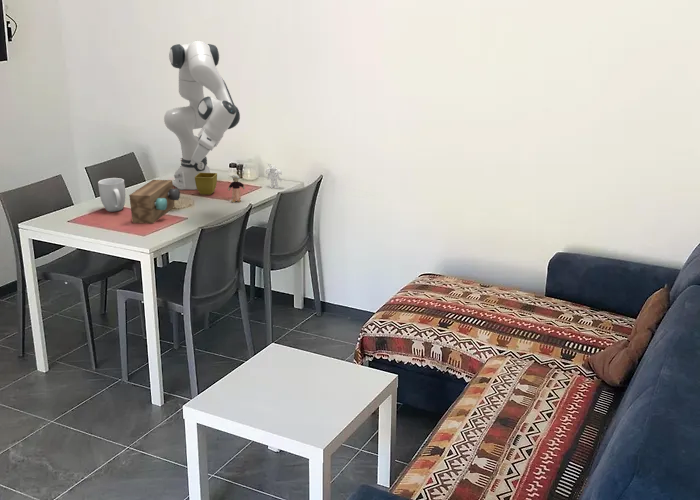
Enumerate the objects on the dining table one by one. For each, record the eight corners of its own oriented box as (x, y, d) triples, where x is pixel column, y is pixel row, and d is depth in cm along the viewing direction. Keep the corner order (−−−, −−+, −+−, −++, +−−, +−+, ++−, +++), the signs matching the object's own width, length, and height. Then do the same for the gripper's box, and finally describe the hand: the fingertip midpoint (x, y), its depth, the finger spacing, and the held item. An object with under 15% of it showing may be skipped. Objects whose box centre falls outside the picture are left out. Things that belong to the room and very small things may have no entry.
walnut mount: (174, 206, 340) (172, 180, 335) (152, 223, 316) (150, 195, 312) (155, 205, 341) (152, 179, 337) (132, 222, 318) (129, 195, 314)
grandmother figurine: (230, 203, 343) (228, 176, 338) (228, 201, 346) (226, 174, 342) (246, 201, 345) (245, 174, 341) (244, 199, 349) (242, 172, 344)
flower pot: (218, 191, 362) (217, 172, 359) (214, 196, 354) (212, 177, 351) (200, 190, 363) (199, 172, 360) (195, 195, 355) (194, 177, 352)
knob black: (180, 198, 335) (179, 187, 333) (176, 201, 331) (175, 190, 329) (161, 197, 336) (160, 186, 335) (157, 200, 332) (156, 189, 330)
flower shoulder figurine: (264, 187, 367) (263, 163, 363) (269, 185, 371) (267, 161, 366) (280, 189, 363) (278, 165, 359) (284, 187, 366) (283, 163, 362)
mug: (133, 212, 331) (130, 183, 327) (108, 216, 326) (104, 187, 321) (122, 204, 343) (119, 176, 339) (98, 208, 337) (94, 180, 333)
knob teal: (167, 208, 321) (166, 196, 320) (163, 211, 317) (162, 200, 315) (148, 207, 322) (147, 196, 321) (143, 211, 318) (142, 199, 316)
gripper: (206, 125, 319) (189, 151, 324) (199, 140, 301) (181, 167, 306) (218, 133, 321) (202, 159, 326) (213, 149, 303) (195, 175, 308)
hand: (192, 163), depth 316 cm, fingers closed
